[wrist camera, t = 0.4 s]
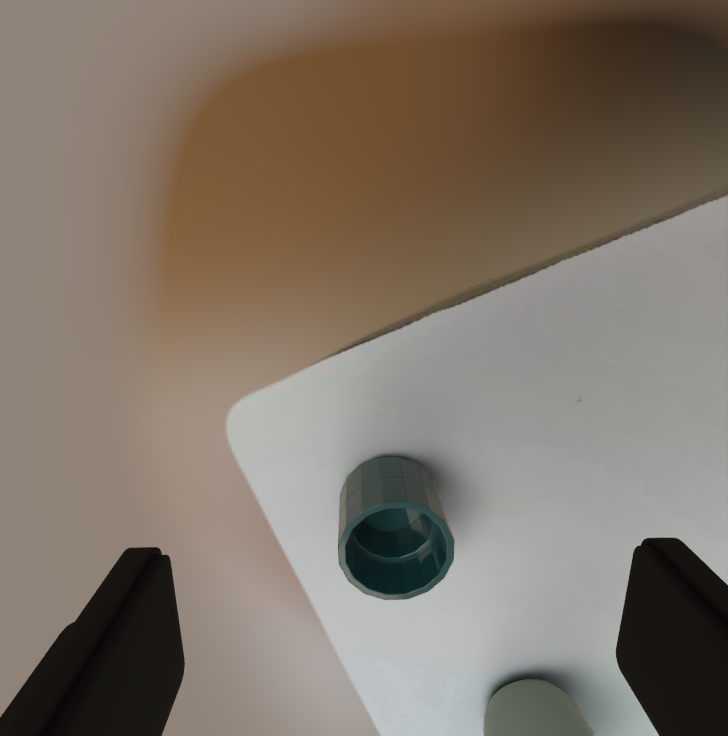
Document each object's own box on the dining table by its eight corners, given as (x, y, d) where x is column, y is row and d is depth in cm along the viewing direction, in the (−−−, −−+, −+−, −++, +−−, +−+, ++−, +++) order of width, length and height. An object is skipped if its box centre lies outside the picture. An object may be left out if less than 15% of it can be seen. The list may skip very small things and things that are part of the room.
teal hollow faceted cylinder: (338, 454, 30) (336, 504, 25) (437, 451, 30) (456, 500, 25) (342, 539, 32) (340, 601, 27) (435, 536, 32) (452, 597, 27)
